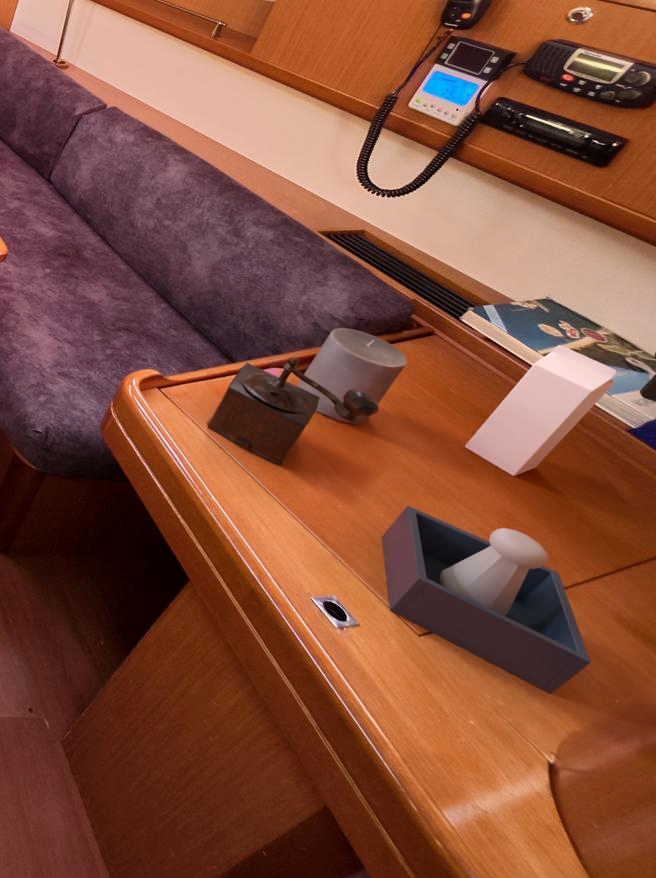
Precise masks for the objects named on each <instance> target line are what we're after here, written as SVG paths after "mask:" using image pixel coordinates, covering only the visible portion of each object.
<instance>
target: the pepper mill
mask: <svg viewBox="0 0 656 878" xmlns="http://www.w3.org/2000/svg"><path fill="white" fill-rule="evenodd" d="M299 364H300V361H299V359H298V358H296V357H294V356H292V357H289V358H288V359H287V362H286V363H285V362H284V364H283V368H284V369H283V371H282V372H281V373H280V375H279V377H278V376H276V375H274V374H272V373H270V372H268V371H265V370H264V369H262V368H260V367H258V366H255V365H254V364H251V363H249V362H246V363H245V364H244V365H242V367H241V368H240V369H239V370H238V372H237V373H236V375H235V376H234V377H233V378H232V380H231V382H230V383H229V385H228V387H227V389H226V391H225V392H224V394H223V396H222V398H221V400H220V402H219V404H218V405H217V407H216V408H215V411H214V412H213V413H212V414H211V416H210V418H209V419H208V420H207V423H206V424H207V428H209V429H211V430H212V431H214V432H216V433H217V434H218V435H221V436H222V437H224V438H226V439H228V440H229V441H231V442H233V443H234V444H236V445H238V446H240V447H241V448H243V449H245V450H247V451H249V452H252V453H254V454H256V455H258V456H259V457H261V458H264V460H267V461H270V462H272V463H275V464H276V465H278V466H283V465H284V463H285V462H286V460H287V459H288V458H289V456H290V454H291V452H292V450H293V449H294V446H295V445H296V443H298V440H299V439H300V437H301V435H302V433H303V432H304V431H305V429H306V427H307V426H308V425H309V424H310V422H311V420H312V418H313V416H314V414H315V413H316V412H317V411H316V409H317V406H318V401H319V399H320V397H318V396H316V395H314V394H312V393H310V392H308V391H306V390H304V389H302V388H300V387H297V385H295V384H294V383H291V382H289V381H287V380H288V378H289V377H290V375H291V373H292V374H293V375H294V376H295V377H296V378H298V379H299V380H302V381H304V382H305V383H307V384H309V385H310V386H312V387H314V388H315V389H317V390H318V391H320V392H321V393H323V394H324V395H325V396H327V397H328V398H329V399H330V400H331V401H332V402H333V403H334V405H335V406H334V408H335V411H336V412H337V413H338V414H339V415H340V416H341V417H342V418H344V419H346V420H348V421H350V422H353V421H357V418H358V416H369V417H371V416H373V415H376V414H377V413H379V409H380V408H379V403H377V402H376V401H375V400H374V399H373V398H372V397H371V396H370V395H369V394H367V393H365V392H362V391H360V390H356V389H352V390H348V391H347V393H346V394H345V395H344V396H343V399H344V401H343V403H342V402H341V401H340V400H339V399H338V398H337V397H336V396H335V395H334V394H332V393H331V392H330V391H328V390H327V389H325V388H324V387H322V386H321V385H319V384H318V383H316V382H315V381H313V380H311V379H310V378H308V377H307V376H305V375H304V374H305V373H304V374H303V373H302V372H301V371H299V370H297V366H298V365H299Z"/></svg>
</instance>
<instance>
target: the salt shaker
mask: <svg viewBox="0 0 656 878" xmlns="http://www.w3.org/2000/svg"><path fill="white" fill-rule="evenodd" d="M488 541H489V542H490V544H491V546H489V547H488V548H486V549H484V550H482V551H480V552H478V553H476V554H474V555H472V556H470V557H468V558H466V559H464V560H462V561H460V562H459V563H457V564H455V565H453V566H451V567H449V568H447V569H445V570H443V571H442V572H441V575H440V578H439V584H440V585H442V586H444V587H446V588H448V589H450V590H452V591H454V592H456V593H458V594H460V595H462V596H464V597H467V598H469V599H471V600H473V601H475V602H477V603H479V604H481V605H483V606H485V607H487V608H489V609H491V610H493V611H495V612H497V613H499V614H501V615H504V616H506V615H507V614H508V612H509V610H510V608H511V605H512V603H513V601H514V599H515V597H516V595H517V593H518V591H519V589H520V587H521V585H522V583H523V581H524V579H525V577H526V575H527V573H528V571H529V569H530V568H531V569H535V568H540V567H542V566H546V564H547V562H548V560H549V555H548V553H547V551H546V549H545V548H544V547H543V546H542V545H541V544H540V543H538V541H536V540H535V539H534V538H532V537H530V536H529V535H527V534H525V533H523V532H521V531H518V530H515V529H511V528H506V527H500V528H497V529H495V530H494V531H492V532H491V533H490V535H489V538H488Z"/></svg>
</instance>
